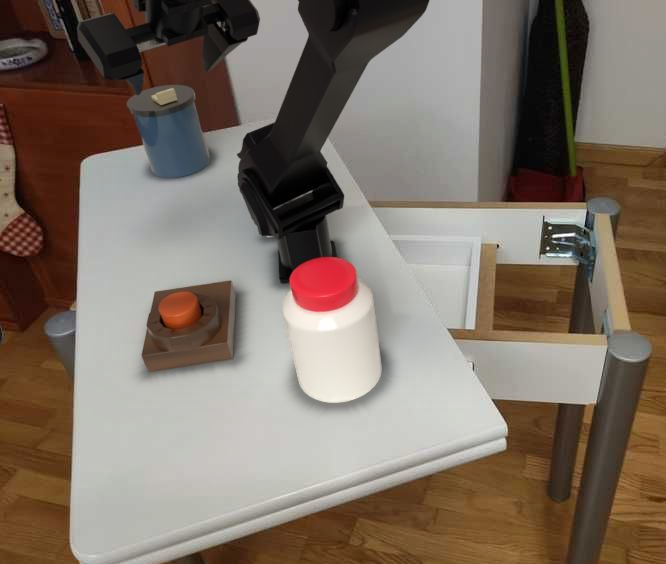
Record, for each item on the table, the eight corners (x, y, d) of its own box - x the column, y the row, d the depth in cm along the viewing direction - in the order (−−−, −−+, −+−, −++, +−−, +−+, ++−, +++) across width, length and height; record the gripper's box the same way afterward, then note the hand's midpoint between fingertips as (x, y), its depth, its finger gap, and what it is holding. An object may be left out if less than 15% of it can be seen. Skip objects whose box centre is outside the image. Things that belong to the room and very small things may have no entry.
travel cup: (223, 163, 94) (205, 95, 88) (164, 185, 91) (141, 116, 84) (196, 144, 100) (177, 79, 93) (140, 164, 96) (116, 98, 90)
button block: (232, 361, 63) (222, 330, 60) (148, 374, 62) (134, 343, 60) (236, 296, 70) (227, 265, 68) (160, 307, 70) (148, 277, 67)
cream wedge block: (177, 100, 87) (174, 88, 86) (160, 105, 86) (157, 94, 85) (168, 94, 89) (165, 83, 88) (152, 99, 88) (148, 88, 87)
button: (200, 326, 61) (195, 312, 60) (161, 332, 61) (155, 318, 60) (203, 303, 64) (198, 289, 63) (166, 308, 64) (160, 294, 63)
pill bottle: (372, 406, 57) (359, 308, 50) (287, 399, 58) (262, 303, 51) (388, 346, 63) (378, 250, 55) (310, 341, 64) (291, 247, 57)
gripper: (213, -105, 70) (203, 9, 83) (38, -70, 61) (59, 50, 75) (272, -26, 68) (252, 76, 82) (101, 21, 60) (111, 126, 74)
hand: (171, 80), depth 78 cm, fingers open, 9 cm apart
